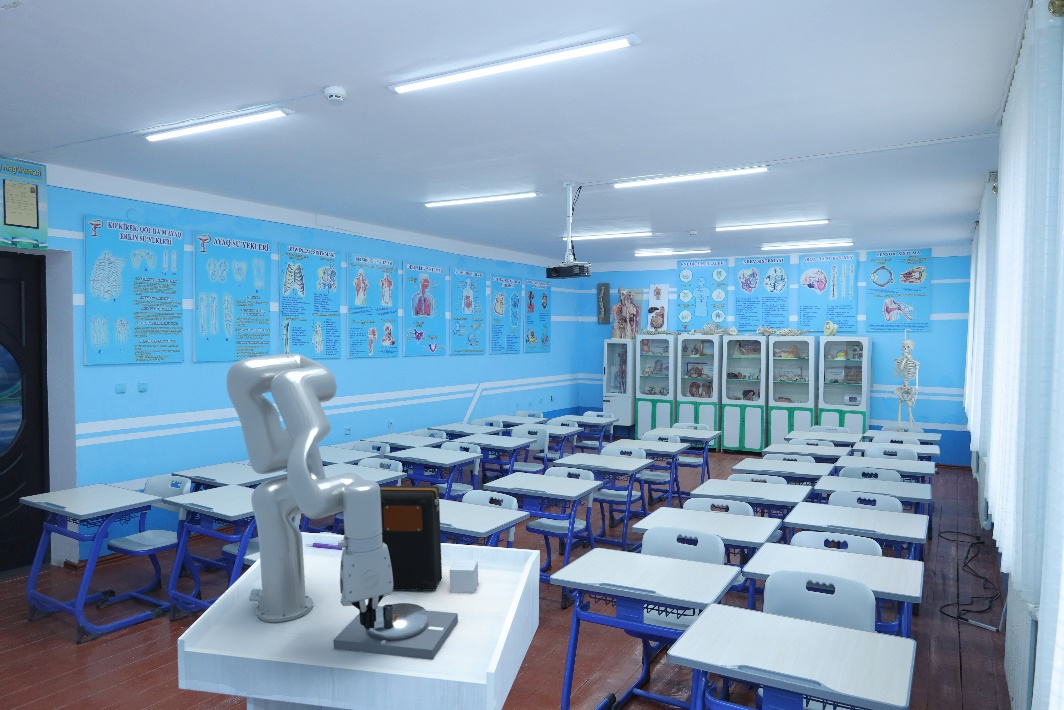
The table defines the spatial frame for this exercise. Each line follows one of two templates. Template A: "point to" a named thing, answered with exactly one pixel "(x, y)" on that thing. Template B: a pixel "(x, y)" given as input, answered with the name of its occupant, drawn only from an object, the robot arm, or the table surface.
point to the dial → (399, 621)
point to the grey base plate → (414, 646)
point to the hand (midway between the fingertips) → (368, 626)
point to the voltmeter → (412, 535)
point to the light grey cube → (463, 576)
